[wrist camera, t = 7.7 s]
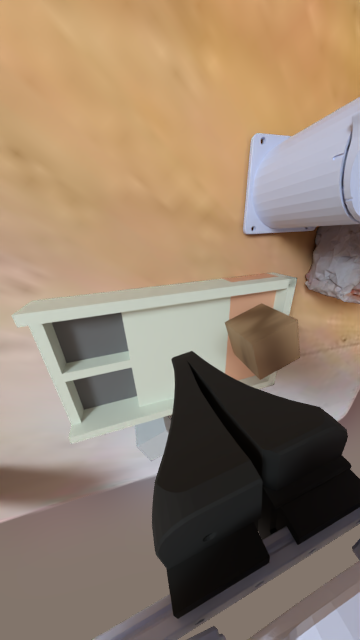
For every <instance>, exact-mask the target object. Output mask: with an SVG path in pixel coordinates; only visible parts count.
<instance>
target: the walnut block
mask: <svg viewBox="0 0 360 640" xmlns="http://www.w3.org/2000/svg"><path fill="white" fill-rule="evenodd" d="M225 326H226V329H227V332H228V336H229V339H230V342H231V346H232V349H233V352H234V354H235V355H236V356H237V357H238V358H239V359H240V360H241V361H242V362H243V363H244V364H245V365H246V366H247V367H248V368H249V369H250V370H251V371H252V372H253V373H254V374H255V375H256V376H257V377H258V378H259V379H260V380H261V379H263V378H265V377H267V376H268V375H270V374H272V373H274V372H275V371H277V370H279V369H281V368H282V367H284V366H286V365H288V364H290V363H291V362H293V361H295V360H297V359H298V358H300V351H299V335H298V320H297V319H295V318H293V317H290V316H288V315H286V314H284V313H282V312H279V311H277V310H275V309H273V308H271V307H269V306H266V305H264V304H262V303H261V304H259V305H257V306H255V307H253V308H251V309H249V310H247V311H246V312H244V313H242V314H240V315H238V316H236V317H234V318H232V319H230V320H228V321H226V322H225Z"/></svg>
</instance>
